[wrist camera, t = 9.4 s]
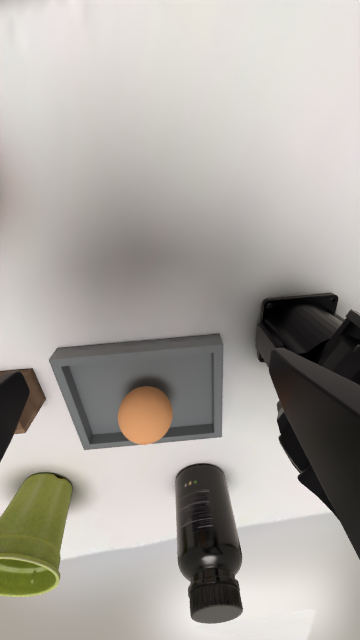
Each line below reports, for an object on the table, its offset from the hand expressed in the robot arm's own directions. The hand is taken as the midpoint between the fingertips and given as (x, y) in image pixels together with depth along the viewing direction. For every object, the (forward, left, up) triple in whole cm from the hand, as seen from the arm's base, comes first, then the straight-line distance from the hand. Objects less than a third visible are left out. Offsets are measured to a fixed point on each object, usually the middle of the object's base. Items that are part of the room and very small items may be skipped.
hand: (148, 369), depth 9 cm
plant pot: (+18, +27, -12) cm, 34 cm away
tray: (+3, +12, -12) cm, 17 cm away
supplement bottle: (-2, +28, -12) cm, 31 cm away
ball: (+2, +12, -9) cm, 15 cm away
